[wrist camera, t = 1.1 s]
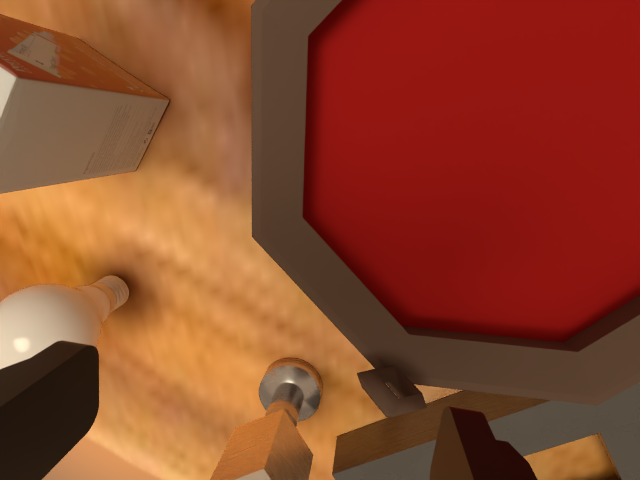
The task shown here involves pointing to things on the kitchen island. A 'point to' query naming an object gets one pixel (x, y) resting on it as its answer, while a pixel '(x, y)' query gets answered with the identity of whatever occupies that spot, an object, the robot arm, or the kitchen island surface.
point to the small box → (67, 110)
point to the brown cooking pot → (457, 187)
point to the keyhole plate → (506, 424)
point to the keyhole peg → (275, 427)
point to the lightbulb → (56, 316)
